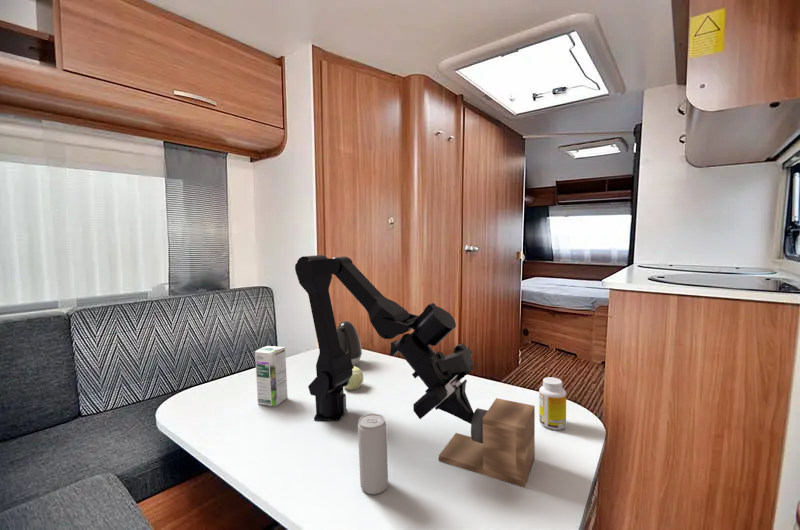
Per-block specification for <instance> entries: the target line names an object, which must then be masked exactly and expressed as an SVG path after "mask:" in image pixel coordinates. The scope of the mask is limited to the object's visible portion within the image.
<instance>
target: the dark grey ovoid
mask: <svg viewBox="0 0 800 530" xmlns="http://www.w3.org/2000/svg"><path fill="white" fill-rule="evenodd" d="M336 329H337V334H338V339H339V344H340V347H341V349H342V350H343V351H344V352H345V353H348V352H349V353H350V354H351V361H352V364H353V366H355V367H356V365H358V363H359V362H360V360H361V357H362V355H363V350H362V344H361V340H360V336H359V334H358V331H357V329H356V327H355V325H353V323H352V322H350V321H349V320H348V321H347V320H346V321H345V320H343V321H342V322H340V323H339V324H338V325H337V326H336Z"/></svg>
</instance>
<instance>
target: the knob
mask: <svg viewBox="0 0 800 530" xmlns="http://www.w3.org/2000/svg"><path fill="white" fill-rule="evenodd" d="M488 410H489V409H488ZM488 410H487V409H483V408H480V407H479V408H477V407H476V409H475V410H474V411H473V412H474V415H473V418H472V423H471V424H470V425H471V426H470V437H471V438H472V440H473V441H474V442H478V443H482V444H483V417H484V416H485V414H486V413H487V411H488Z"/></svg>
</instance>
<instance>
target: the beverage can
mask: <svg viewBox="0 0 800 530" xmlns="http://www.w3.org/2000/svg"><path fill="white" fill-rule="evenodd" d="M357 423H358V424H357V435H358V436H357V437H358V439H357V440H358V458H359V459H358V461H359V462H358V464H359V479H360V480H359V483H360V484H359V485H360V488H361V489H362V491H363V492H365V493H366V494H369V495H374V496H375V495H379V494H381V493H383V492H384V491H385V490H386V488H387V487H388V484H389V471H388V444H387V442H388V441H387V438H388V437H387V424H386V418H385V417H384V416H383V415H381V414H377V413H369V414H365V415H364V414H363V415H362V416H360V418H359V419H358V422H357Z"/></svg>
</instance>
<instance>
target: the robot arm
mask: <svg viewBox="0 0 800 530" xmlns="http://www.w3.org/2000/svg"><path fill="white" fill-rule="evenodd" d="M294 266H295V267H294V271H295V274H296V277H297V280H298V283H299V285H300V286H301V288H303V290H304V291H305V292H306V293H307V296H308V298H309V299H308V300H309V306H310V310H311V316H312V319H313V325H314V330H315V335H316V339H317V340H316V341H317V344H318V350H319V352H318V353H319V354H318V357H317V360H316V364H315V371H316V372H315V373H316V377H315V378H314V379H313V380H312V381H311V383H310V384H309V385H308V390H309V394H310V395H311V396H314V397H315V415H314V417H313V420H314V421H340V420H342V417H343V416H344V415H345V413H346V411H347V395H346V393H344V388H345V387H344V386H347V385H348V381H349V379H350V378H351V376H352V373H353V371H352V369H353V368H354V366H353V364H352V361H351V354H350V353H349V352H348V353H345V352H344V351H343V350H342V349H341V347H340V344H339V339H338V334H337V324H336V321H335V320H336V319H335V316H334V310H333V305H332V299H331V296H330V285H331V283H332V279H333V275H335V277H336V278H337V279H338V280H339V281H340V282H341V284H342V285H343V286H344V287H345V288H346V290H347V291H349V292H350V293H351V295H352V296H353V297H354V298H355V299H356V300H357V302H359V304H360V306H362V307H363V308H364V309H365V311H366V312H367V313H368V318H369V322H370V324H371V326H372V327H373V328H374V330H375V332H376V333H377V334H378V336H379V337H380V338H382V339H384V340H392V339H395V338H396V337H400V336H401V335H402V336H401V337H400V338H399V340H397V339H395V340H394V341H391V342H390V349H389V355H390V356H391V357H393V356H395V355H397V354H398V353H400V355H401V356H402V357H403V358H404V361H406V362H407V364H408V365H409V366H410V367H411V368H412V369H413V371H414V372H412V374H411V375H412V377H413V378H414V379H417V378H418V377H419V379H420V380H421V381H422V382H423V383H424V385H425V386H426V387H427V389H426V390H425V391H424V392H425V394H423V395H422V396H421V397H420V398H419V399H418V400H417V401H415V402H414V403H413V406H412V407H413V412H414V414H415V415H416V416H417V418H418V419H419V420H422V419H423V418H424V417H425V416H426V415H427V414H428V413H430V412H431V411H432V410H433V409H435V410H437V411H438V410H440V411H443V412H445V413H448V414H450V415H452V416H454V417H456V418H458V419H459V420H461V421H464V422H465V423H468V424H470V425H471V423H472V418H473V415H474V412H475V411H474V410H473V408H472V406H471V402H470V400H469V399H468V395H467V393H466V386H467V385H466V384H467V382H468V381H467V379H465V380H463V381H461V380H462V379H463V378H465V376H467V375H468V374H470V373H471V372H472V371H473V370H474V369H475V367H474V366H473V365H474V364H475V362H474V360H473V358H472V355H473V353H474V352H473V351H472V349H471V350H470V349H469V347H467V346H466V345H465V344H464V343H463V342H462V343H460V344H457V345H455V346H454V347H453V352H451V353H449V354H447V355H445V354H444V353H443V352H442V351H439V350H438V351H437V352H436V351H435V350H434V349H433V347H436V346H437V345H439V344H440V343H441V342H442V341H443V340H444V339H445V338H446V337H447V336H448V335H449V334H450V333H452V331H453V330H455V329H456V327H457V324H456V319H454V317H453V315H452V314H451V313H450V312H449V311H446V310H445V309H444V308H442V307H439V306H437V305H436V304H435V302H432V303H429V304H428V305H427V306H426V307H425V308H424V310H423V311H422V312H421V313H420V315H417V314H413V313H410V312H409V311H408V310H406V309H405V308H404V307H402V305H400V304H398V302H396V301H393V300H392V299H389V298H387V297H386V296H385V295H383V293H381V292H380V290H378V288H377V287H376V286H375V285H374V284H372V282H371V281H370V280H369V279H368V278H367V276H365V275H364V274H363V273H362V271H360V269H359V268H358V267H356V265H355V264H354V263H353V261H352V259H351V258H350V257H348V256H337V257H336V256H334V257H331V258H328V257H327V256H326V255H324V254H319V255H318V254H317V255H307V256H306V255H304V256H301V257H299V258H298V259H297V262H296V263H295V265H294ZM411 330H413V331H412V332H411V333H407V332H409V331H411ZM403 334H404V335H403ZM431 346H433V347H431Z"/></svg>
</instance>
